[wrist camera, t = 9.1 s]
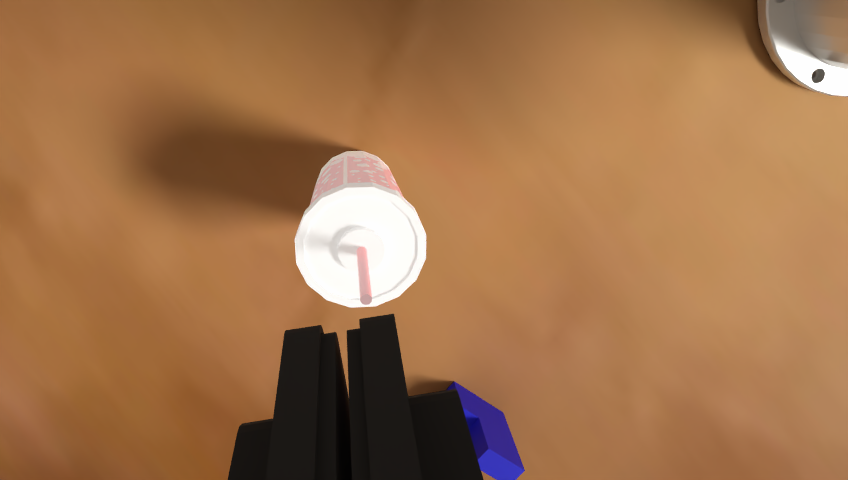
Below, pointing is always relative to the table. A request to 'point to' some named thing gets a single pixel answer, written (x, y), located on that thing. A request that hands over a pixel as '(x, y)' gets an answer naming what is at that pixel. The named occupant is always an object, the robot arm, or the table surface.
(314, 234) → the beverage cup
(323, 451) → the robot arm
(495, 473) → the cable clip
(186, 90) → the table surface
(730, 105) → the table surface
